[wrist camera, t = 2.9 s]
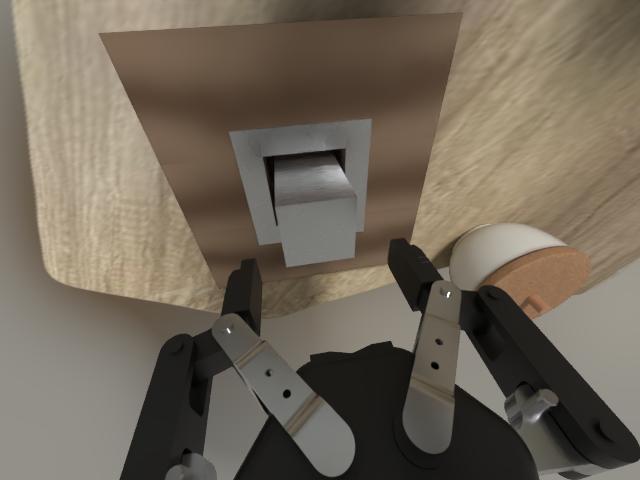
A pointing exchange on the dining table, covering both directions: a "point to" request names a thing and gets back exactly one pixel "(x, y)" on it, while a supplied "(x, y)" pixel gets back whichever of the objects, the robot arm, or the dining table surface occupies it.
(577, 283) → the lidded bowl
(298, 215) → the brushed steel block
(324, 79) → the mount plate
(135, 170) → the dining table surface
